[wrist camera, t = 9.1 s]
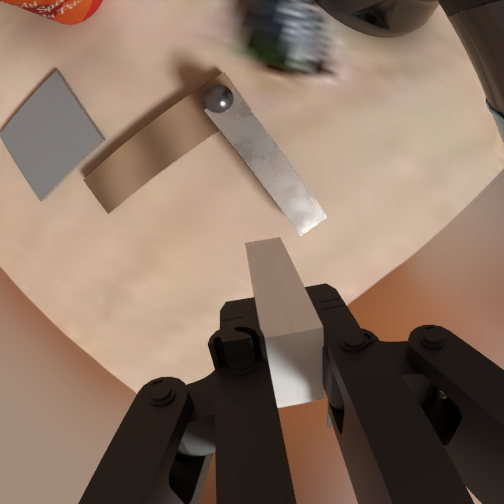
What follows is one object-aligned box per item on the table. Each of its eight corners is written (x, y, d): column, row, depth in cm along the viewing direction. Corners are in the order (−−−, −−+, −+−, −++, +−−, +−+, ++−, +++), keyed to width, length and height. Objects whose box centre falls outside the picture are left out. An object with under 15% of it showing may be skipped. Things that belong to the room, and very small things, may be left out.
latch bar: (197, 102, 26) (194, 98, 23) (224, 82, 25) (224, 76, 23) (294, 228, 31) (302, 238, 28) (319, 210, 31) (329, 218, 28)
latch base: (224, 74, 26) (224, 72, 25) (249, 110, 28) (250, 109, 27) (87, 178, 29) (83, 179, 28) (112, 210, 30) (108, 213, 29)
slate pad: (59, 71, 24) (56, 70, 23) (105, 139, 28) (103, 140, 27) (3, 134, 25) (-1, 135, 25) (44, 199, 29) (40, 201, 28)
